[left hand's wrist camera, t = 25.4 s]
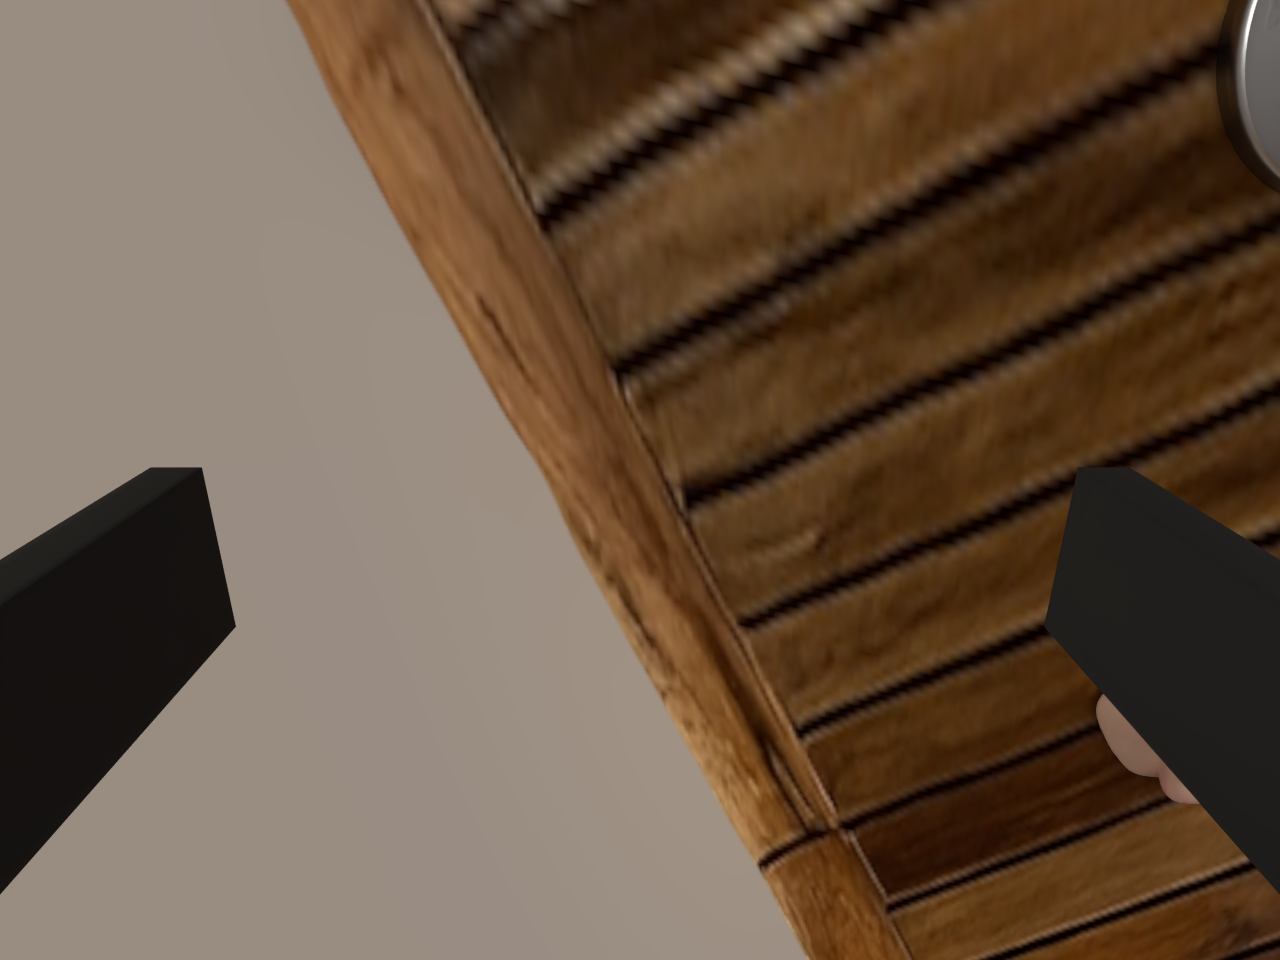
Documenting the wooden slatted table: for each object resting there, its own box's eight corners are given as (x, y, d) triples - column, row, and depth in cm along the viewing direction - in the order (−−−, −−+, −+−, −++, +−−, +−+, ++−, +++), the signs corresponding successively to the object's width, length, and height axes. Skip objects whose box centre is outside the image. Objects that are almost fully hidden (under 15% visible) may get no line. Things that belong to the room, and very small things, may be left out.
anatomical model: (1096, 775, 47) (1247, 631, 43) (1063, 730, 50) (1199, 594, 47) (1255, 866, 49) (1410, 738, 46) (1212, 817, 53) (1352, 695, 49)
